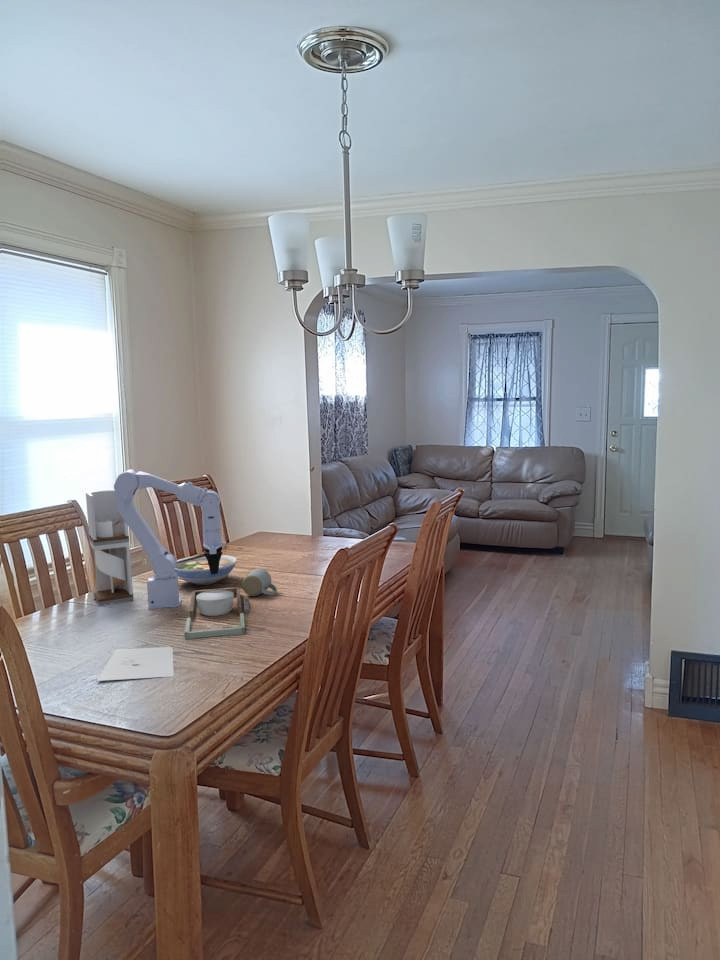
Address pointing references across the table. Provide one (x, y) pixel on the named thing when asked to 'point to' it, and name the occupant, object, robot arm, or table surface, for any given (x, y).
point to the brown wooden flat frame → (194, 593)
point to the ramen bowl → (203, 569)
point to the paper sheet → (139, 664)
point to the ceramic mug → (258, 583)
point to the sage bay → (214, 632)
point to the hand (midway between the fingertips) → (214, 571)
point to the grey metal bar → (246, 605)
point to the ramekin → (215, 602)
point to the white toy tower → (109, 548)
